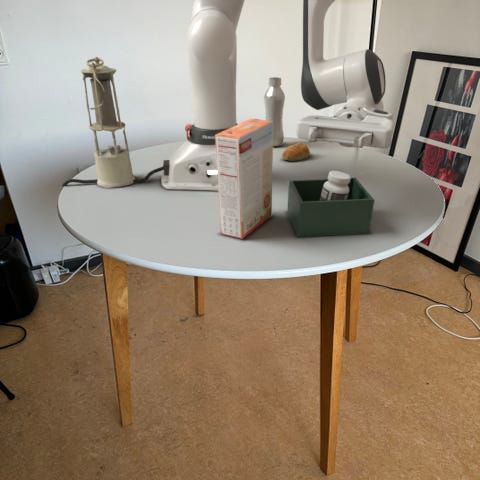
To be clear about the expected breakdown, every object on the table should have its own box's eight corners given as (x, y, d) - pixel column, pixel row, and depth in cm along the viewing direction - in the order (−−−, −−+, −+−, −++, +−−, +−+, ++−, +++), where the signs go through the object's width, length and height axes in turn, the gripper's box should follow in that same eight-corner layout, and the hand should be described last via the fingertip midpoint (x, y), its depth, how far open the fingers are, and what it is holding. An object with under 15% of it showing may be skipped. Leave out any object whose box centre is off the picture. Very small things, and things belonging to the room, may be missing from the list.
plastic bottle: (284, 148, 149) (287, 79, 138) (263, 148, 150) (264, 80, 138) (283, 142, 155) (285, 76, 143) (263, 142, 155) (264, 76, 143)
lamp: (137, 174, 130) (120, 53, 113) (130, 191, 120) (109, 61, 102) (101, 175, 130) (78, 54, 112) (90, 192, 120) (62, 61, 102)
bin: (297, 237, 97) (300, 203, 93) (287, 212, 108) (288, 180, 103) (368, 233, 98) (374, 199, 94) (351, 209, 109) (355, 177, 104)
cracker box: (249, 211, 108) (249, 117, 96) (272, 216, 106) (275, 120, 93) (218, 234, 99) (213, 132, 86) (242, 240, 96) (241, 136, 84)
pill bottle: (342, 217, 104) (356, 175, 98) (336, 226, 99) (350, 182, 93) (318, 210, 105) (331, 167, 99) (311, 218, 101) (324, 174, 95)
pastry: (294, 164, 136) (295, 151, 134) (276, 160, 140) (276, 147, 138) (311, 156, 142) (312, 143, 140) (293, 152, 146) (294, 140, 143)
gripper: (308, 105, 104) (286, 118, 94) (401, 114, 97) (387, 129, 87) (306, 134, 108) (284, 150, 98) (395, 144, 100) (381, 163, 90)
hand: (333, 140), depth 92 cm, fingers open, 8 cm apart
